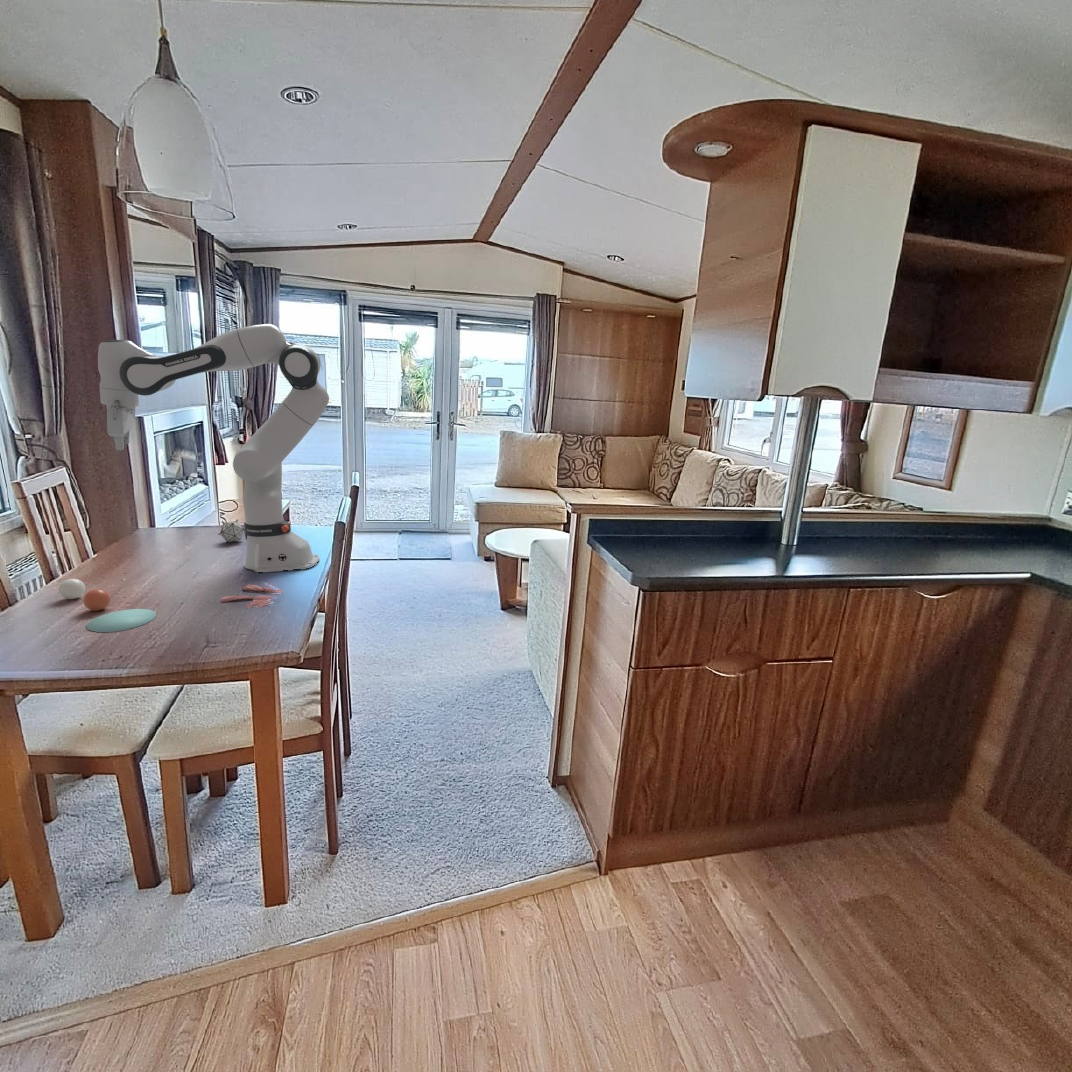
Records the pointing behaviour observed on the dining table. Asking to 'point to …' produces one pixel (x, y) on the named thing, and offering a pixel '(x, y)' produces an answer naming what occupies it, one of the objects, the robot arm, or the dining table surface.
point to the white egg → (72, 588)
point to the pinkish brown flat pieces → (258, 601)
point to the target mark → (121, 620)
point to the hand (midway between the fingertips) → (122, 446)
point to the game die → (231, 531)
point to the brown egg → (96, 599)
